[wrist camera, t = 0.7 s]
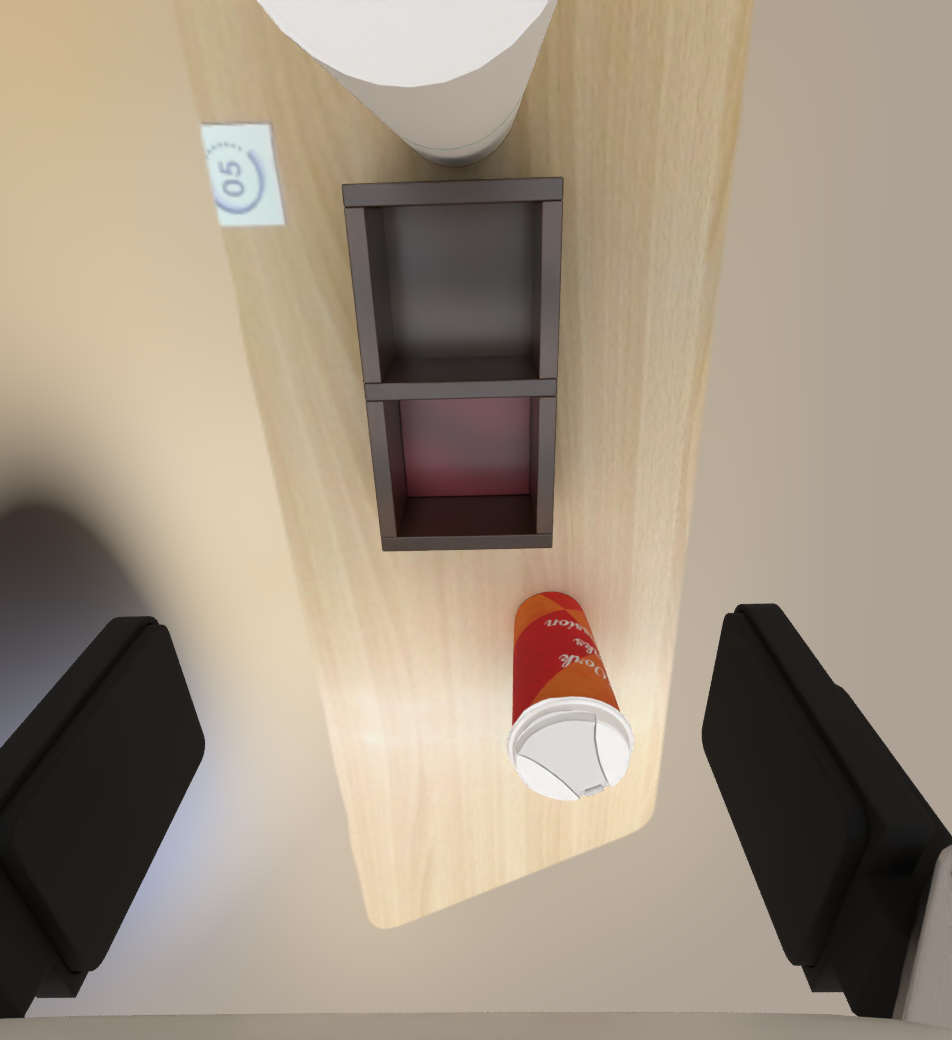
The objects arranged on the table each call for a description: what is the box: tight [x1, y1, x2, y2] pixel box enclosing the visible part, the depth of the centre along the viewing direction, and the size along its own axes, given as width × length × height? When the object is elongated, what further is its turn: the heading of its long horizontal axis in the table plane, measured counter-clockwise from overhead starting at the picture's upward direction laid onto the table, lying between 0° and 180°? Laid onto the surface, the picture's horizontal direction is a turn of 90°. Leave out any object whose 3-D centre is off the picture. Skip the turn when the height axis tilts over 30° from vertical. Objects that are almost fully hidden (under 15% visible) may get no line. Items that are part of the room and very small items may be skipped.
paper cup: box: [507, 592, 634, 800], centre depth 43 cm, size 8×8×14 cm
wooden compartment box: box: [342, 177, 564, 551], centre depth 37 cm, size 20×10×7 cm, turn 2°
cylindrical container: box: [257, 0, 558, 167], centre depth 22 cm, size 7×7×25 cm
